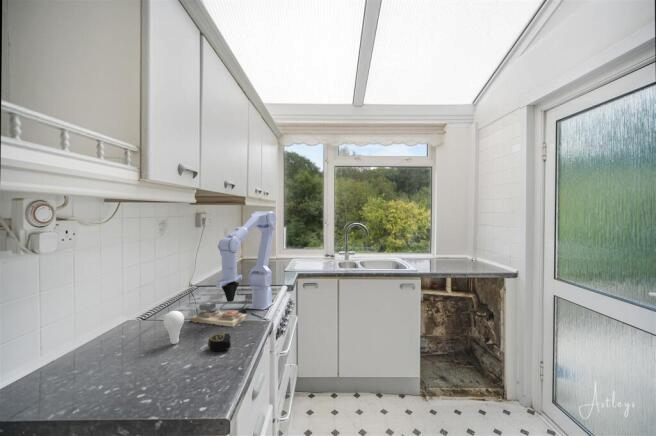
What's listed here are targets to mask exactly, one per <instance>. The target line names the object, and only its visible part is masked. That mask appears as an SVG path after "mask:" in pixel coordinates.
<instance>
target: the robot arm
mask: <svg viewBox="0 0 656 436" xmlns="http://www.w3.org/2000/svg"><path fill="white" fill-rule="evenodd" d="M277 220H278V219H277V216H276V213H275V212H274V211H271V210H270V211H257V210H256V211H254V212H253V213H252V214H251V215H250V218H249V219H248V220H247V222H245V223H244V224H243V225H242V226H236V227H235V228H234V230H233V231H232V232H231V233H229V234H228V235H227V236H226V237H222V238H221V239H220V240H219V242H218V244H217V249H218V250H219V252H220V253H219V254H220V256H221V277H220V278H219V280H218V281H217V282H215V287H216V289H222V291H223V292H224V295H225V299H226V302H231V303H232V302H234V300H235V295H236V292H237V289H238V287H239V285H240V283H239V282H238V281H239V280H240V281H241V280H243V274H238V263H237V262H238V261H237V260H238V259H237V258H238V256H237V255H238V254H237V253H238V251H239V249H240V246H241V244H242V243H243V242H244V241H245V240H246V239H247V238H248V237H249V232H251V231H252V230H254V228H257V229H258V230H259V231H261V237H260V243H259V248H258V253H257V259H256V263H255V265H254V266H253V267H252V268H251V269H250V272H249V275H248V277H247V283H248V285H249V286H250V289H251V297H252V299H251V300H252V301H251V302H252V303H251V305H250V306H248V309H252V310H261V311H262V310H266V309H268V308H269V307H271V306H272V305H274V302H272V301H273V296H272V295H273V293H272V292H273V290H272V288H271V285H272V282H273V277H272V274H273V271H272V270H271V269H270V268H269V261H270V256H271V251H272V242H273V239H274V233H275V229H276V224H277V223H276V222H277Z"/></svg>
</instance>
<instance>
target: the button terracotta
mask: <svg viewBox="0 0 656 436" xmlns="http://www.w3.org/2000/svg"><path fill="white" fill-rule="evenodd" d="M224 312H225V313H223V314H222V317H231V318H232V317H234V316H236V315H238V313H239V310H231V309H228V310H226V311H224Z"/></svg>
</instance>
